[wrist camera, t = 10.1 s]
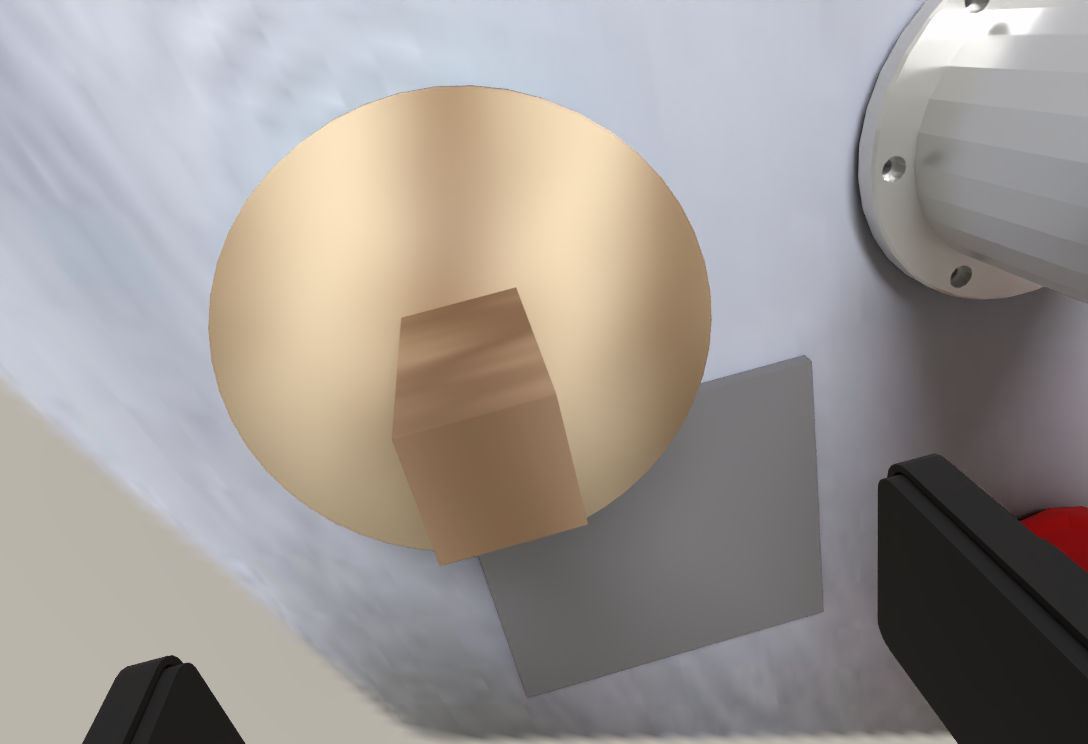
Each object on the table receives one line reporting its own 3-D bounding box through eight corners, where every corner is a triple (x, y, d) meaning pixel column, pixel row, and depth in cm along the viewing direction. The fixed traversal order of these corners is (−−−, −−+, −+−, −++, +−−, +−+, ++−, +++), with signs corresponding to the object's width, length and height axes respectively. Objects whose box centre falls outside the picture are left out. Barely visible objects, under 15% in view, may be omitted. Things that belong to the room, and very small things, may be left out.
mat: (804, 355, 28) (811, 361, 28) (817, 602, 34) (823, 611, 34) (445, 453, 28) (445, 461, 27) (525, 687, 34) (527, 698, 33)
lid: (665, 26, 17) (812, 17, 10) (720, 466, 22) (835, 631, 16) (123, 162, 16) (-70, 240, 10) (325, 577, 22) (286, 792, 16)
